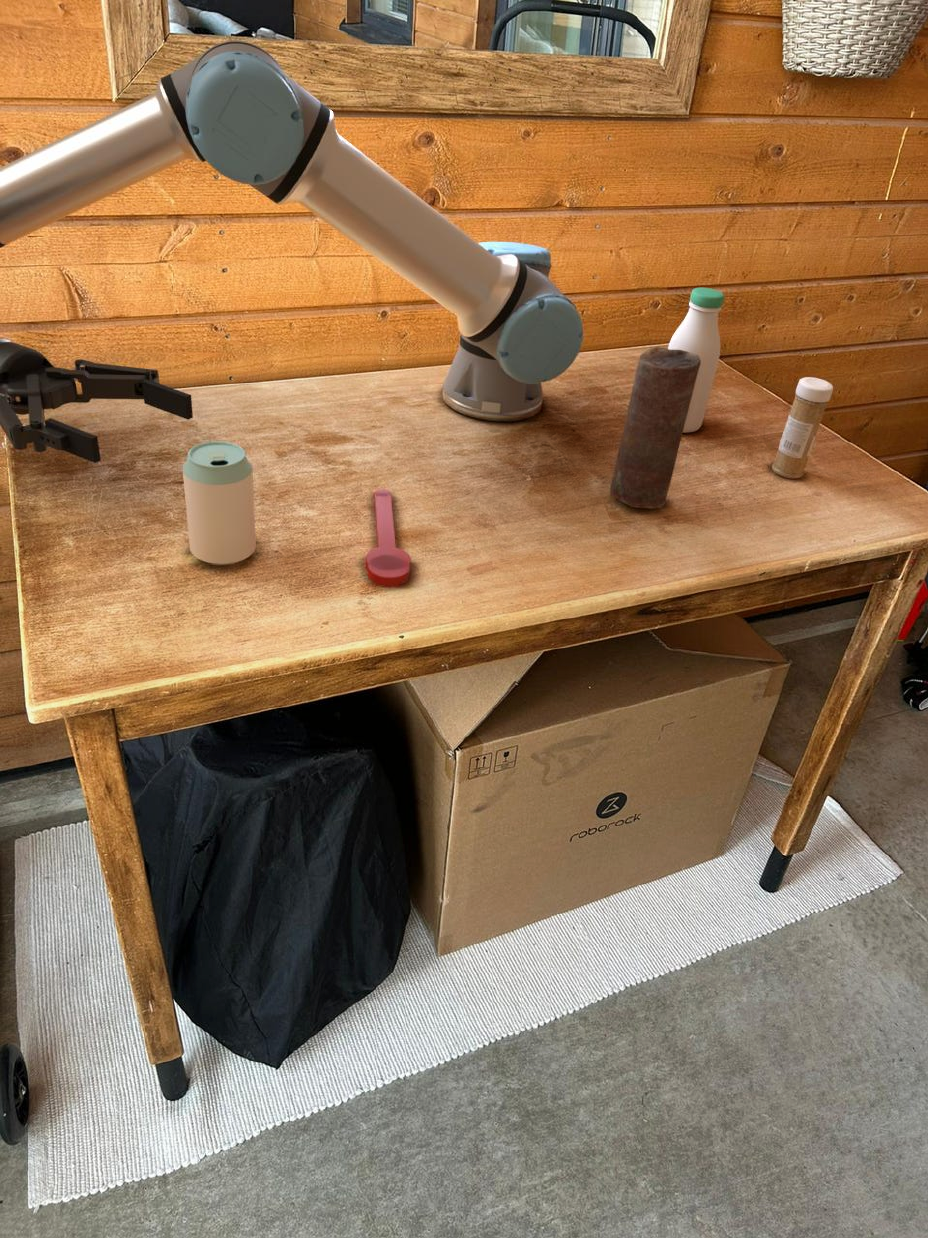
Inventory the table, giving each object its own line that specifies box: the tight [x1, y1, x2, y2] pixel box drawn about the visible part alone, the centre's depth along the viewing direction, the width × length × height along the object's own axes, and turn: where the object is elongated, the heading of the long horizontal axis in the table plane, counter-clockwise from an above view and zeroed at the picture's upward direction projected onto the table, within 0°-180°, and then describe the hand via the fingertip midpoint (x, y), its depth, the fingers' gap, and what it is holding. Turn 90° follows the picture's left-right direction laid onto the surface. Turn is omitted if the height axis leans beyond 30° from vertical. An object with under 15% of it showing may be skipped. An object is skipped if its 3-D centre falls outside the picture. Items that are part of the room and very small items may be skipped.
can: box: [182, 440, 257, 566], centre depth 99 cm, size 7×7×12 cm
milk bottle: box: [667, 287, 725, 433], centre depth 137 cm, size 8×8×20 cm
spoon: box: [364, 488, 412, 588], centre depth 108 cm, size 20×5×1 cm, turn 6°
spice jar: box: [771, 376, 834, 479], centre depth 129 cm, size 5×5×13 cm
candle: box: [609, 346, 701, 510], centre depth 115 cm, size 8×7×20 cm
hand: (145, 427), depth 99 cm, fingers open, 13 cm apart
